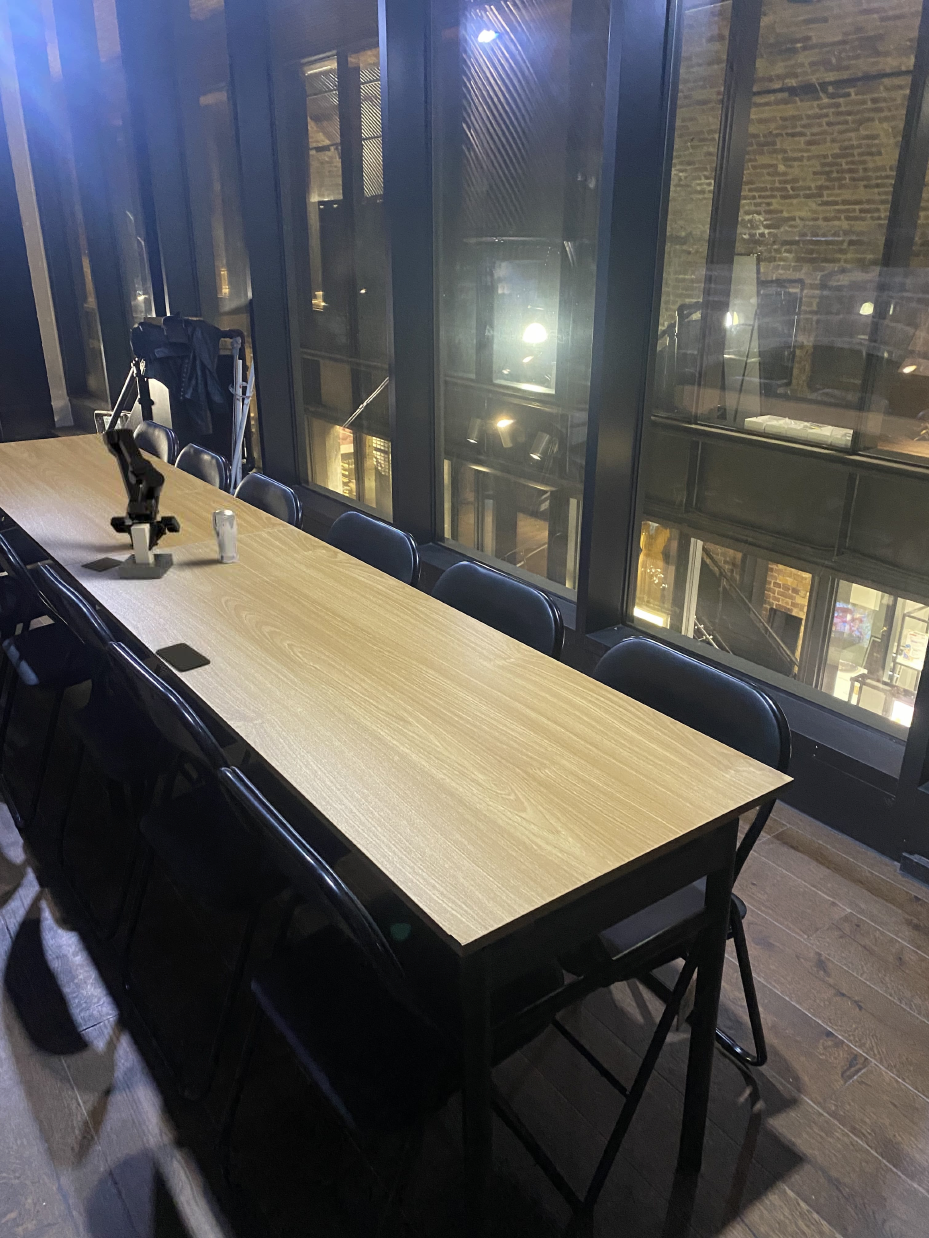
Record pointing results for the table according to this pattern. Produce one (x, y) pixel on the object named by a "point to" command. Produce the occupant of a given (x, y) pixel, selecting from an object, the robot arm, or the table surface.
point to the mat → (102, 564)
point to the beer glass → (225, 535)
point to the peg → (142, 543)
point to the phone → (183, 657)
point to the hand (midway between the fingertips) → (141, 550)
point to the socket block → (145, 567)
